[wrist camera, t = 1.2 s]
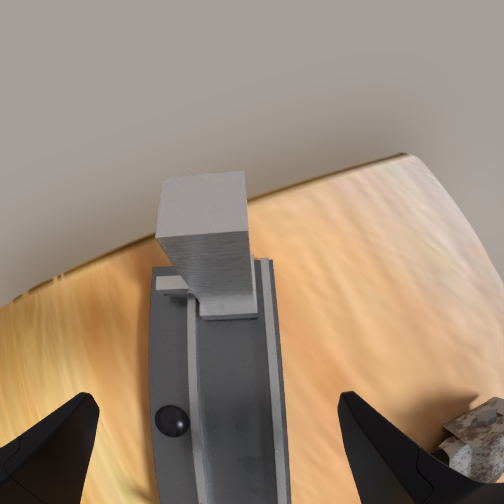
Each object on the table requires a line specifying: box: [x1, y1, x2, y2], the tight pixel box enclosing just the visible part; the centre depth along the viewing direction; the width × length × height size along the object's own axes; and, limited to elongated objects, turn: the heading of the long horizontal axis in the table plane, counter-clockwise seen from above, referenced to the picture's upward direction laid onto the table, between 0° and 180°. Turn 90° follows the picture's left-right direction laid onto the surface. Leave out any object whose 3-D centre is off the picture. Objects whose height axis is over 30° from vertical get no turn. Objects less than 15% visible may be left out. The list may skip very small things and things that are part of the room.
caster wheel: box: [432, 397, 504, 483], centre depth 12 cm, size 7×11×10 cm
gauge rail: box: [149, 258, 291, 504], centre depth 16 cm, size 26×10×4 cm, turn 4°
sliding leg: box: [155, 171, 258, 320], centre depth 16 cm, size 4×7×11 cm, turn 94°
